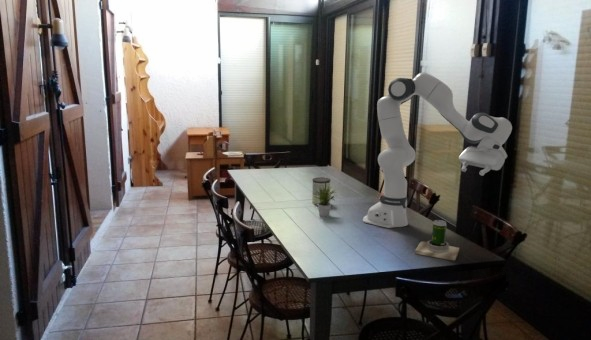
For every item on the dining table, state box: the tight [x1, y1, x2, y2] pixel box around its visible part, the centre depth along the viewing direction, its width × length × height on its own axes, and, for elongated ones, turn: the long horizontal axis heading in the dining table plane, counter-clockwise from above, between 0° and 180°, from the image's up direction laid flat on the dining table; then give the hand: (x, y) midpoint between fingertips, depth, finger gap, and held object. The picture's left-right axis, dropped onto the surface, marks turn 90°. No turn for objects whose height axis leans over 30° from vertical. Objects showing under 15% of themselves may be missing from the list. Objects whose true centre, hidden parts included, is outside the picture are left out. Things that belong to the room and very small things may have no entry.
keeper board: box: [414, 239, 460, 261], centre depth 198 cm, size 16×12×4 cm
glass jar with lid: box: [311, 177, 331, 206], centre depth 269 cm, size 10×10×14 cm
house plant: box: [314, 186, 338, 218], centre depth 245 cm, size 14×14×16 cm
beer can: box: [431, 219, 447, 246], centre depth 196 cm, size 5×5×12 cm
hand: (471, 172), depth 207 cm, fingers open, 8 cm apart
